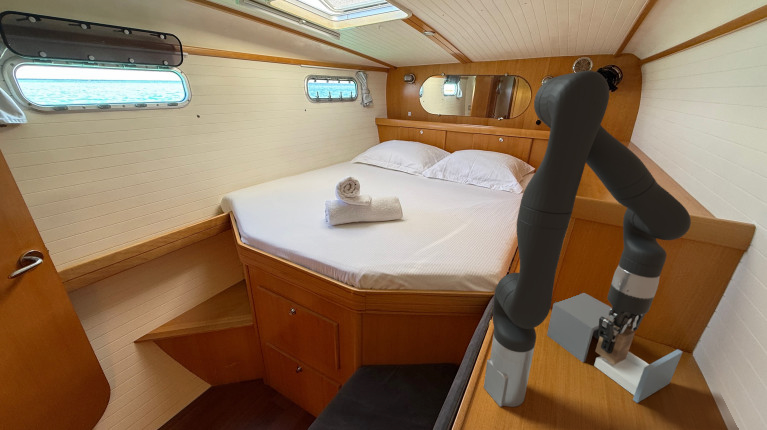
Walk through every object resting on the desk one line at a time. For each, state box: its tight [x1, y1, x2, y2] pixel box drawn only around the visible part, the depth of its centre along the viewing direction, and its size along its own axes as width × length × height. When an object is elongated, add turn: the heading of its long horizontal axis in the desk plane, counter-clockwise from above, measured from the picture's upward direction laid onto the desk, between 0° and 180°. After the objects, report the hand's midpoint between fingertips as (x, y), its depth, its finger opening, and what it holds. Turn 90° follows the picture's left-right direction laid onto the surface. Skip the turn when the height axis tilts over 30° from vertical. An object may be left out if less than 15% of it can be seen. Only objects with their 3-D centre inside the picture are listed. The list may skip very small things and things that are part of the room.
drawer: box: [593, 348, 683, 404], centre depth 79 cm, size 14×12×11 cm
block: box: [595, 326, 636, 364], centre depth 71 cm, size 4×4×8 cm
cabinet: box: [546, 292, 612, 363], centre depth 91 cm, size 14×12×12 cm
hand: (612, 347), depth 72 cm, fingers closed on block, 4 cm apart
